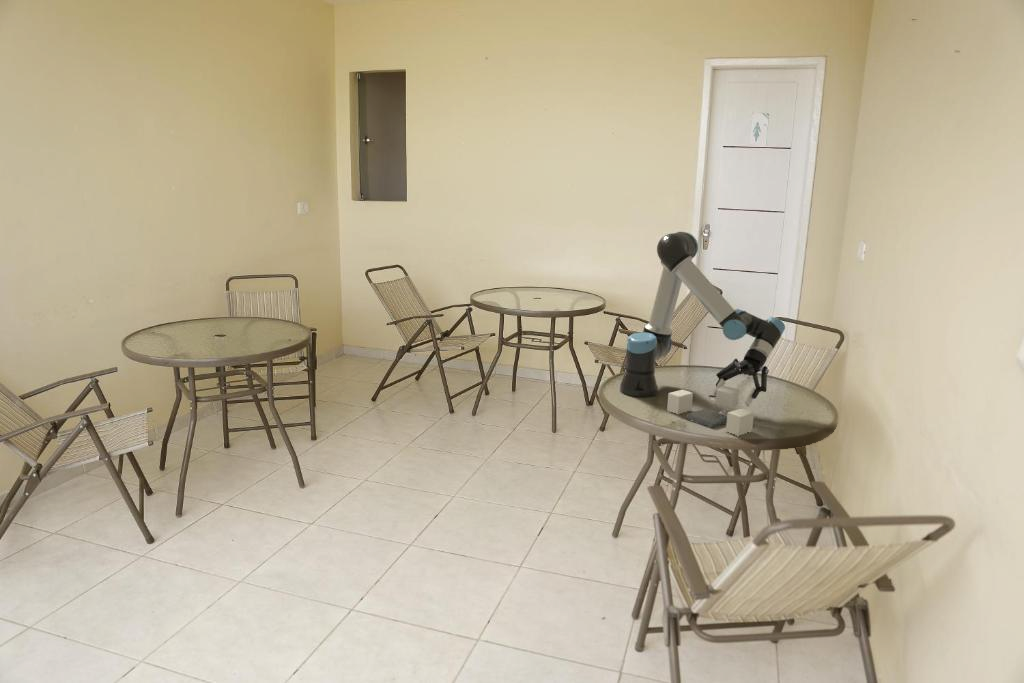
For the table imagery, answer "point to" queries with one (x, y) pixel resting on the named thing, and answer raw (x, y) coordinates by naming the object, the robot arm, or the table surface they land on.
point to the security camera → (727, 398)
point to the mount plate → (707, 418)
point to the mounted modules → (736, 420)
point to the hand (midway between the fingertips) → (730, 399)
